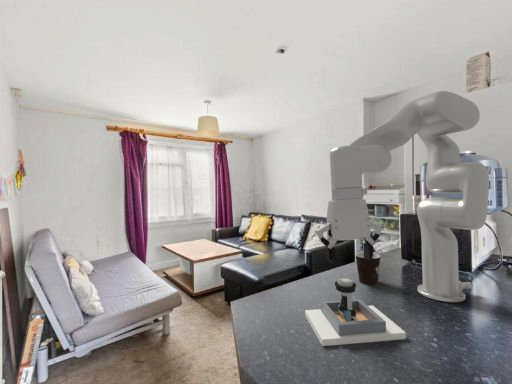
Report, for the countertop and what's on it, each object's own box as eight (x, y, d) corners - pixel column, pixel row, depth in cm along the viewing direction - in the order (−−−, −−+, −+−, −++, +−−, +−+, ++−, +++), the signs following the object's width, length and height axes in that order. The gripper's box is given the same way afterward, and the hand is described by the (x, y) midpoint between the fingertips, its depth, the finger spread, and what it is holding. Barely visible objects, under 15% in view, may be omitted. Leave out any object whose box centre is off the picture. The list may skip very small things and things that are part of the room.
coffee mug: (369, 276, 100) (368, 251, 100) (386, 284, 92) (385, 256, 92) (344, 280, 96) (343, 254, 96) (360, 288, 88) (359, 260, 88)
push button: (365, 323, 62) (364, 283, 62) (347, 327, 61) (346, 286, 61) (348, 311, 69) (347, 275, 69) (331, 315, 67) (330, 278, 67)
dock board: (372, 310, 72) (372, 296, 72) (405, 338, 58) (405, 321, 58) (305, 315, 71) (304, 301, 71) (322, 346, 57) (321, 328, 57)
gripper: (371, 192, 69) (374, 254, 69) (309, 196, 67) (313, 259, 68) (387, 193, 61) (391, 262, 62) (319, 197, 60) (322, 268, 60)
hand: (350, 261), depth 65 cm, fingers open, 9 cm apart
